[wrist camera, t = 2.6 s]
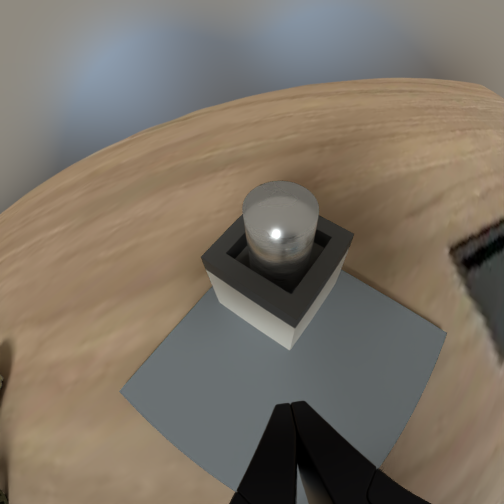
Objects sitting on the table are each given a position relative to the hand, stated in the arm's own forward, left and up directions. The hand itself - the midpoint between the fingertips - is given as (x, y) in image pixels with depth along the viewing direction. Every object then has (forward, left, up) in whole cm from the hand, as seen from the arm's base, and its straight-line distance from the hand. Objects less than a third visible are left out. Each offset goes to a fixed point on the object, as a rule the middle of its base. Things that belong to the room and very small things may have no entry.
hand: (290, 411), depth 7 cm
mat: (+1, -3, -14) cm, 14 cm away
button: (+6, -8, -9) cm, 13 cm away
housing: (+6, -8, -14) cm, 17 cm away
